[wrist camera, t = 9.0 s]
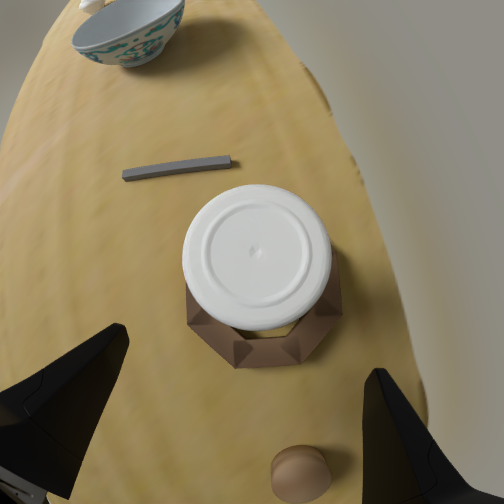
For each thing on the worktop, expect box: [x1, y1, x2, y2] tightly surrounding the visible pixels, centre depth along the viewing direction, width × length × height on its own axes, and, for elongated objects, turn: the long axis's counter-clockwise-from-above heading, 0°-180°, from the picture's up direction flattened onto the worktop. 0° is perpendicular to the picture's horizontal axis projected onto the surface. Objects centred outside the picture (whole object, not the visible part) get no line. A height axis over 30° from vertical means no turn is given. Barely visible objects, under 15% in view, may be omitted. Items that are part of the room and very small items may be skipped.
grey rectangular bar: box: [122, 155, 231, 182], centre depth 24 cm, size 10×1×1 cm, turn 93°
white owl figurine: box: [79, 0, 105, 15], centre depth 32 cm, size 6×6×7 cm
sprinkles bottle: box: [182, 184, 332, 331], centre depth 15 cm, size 5×5×14 cm
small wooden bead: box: [271, 445, 332, 503], centre depth 16 cm, size 4×4×3 cm
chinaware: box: [71, 0, 185, 67], centre depth 25 cm, size 15×15×8 cm
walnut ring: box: [186, 248, 342, 369], centre depth 20 cm, size 11×11×2 cm
